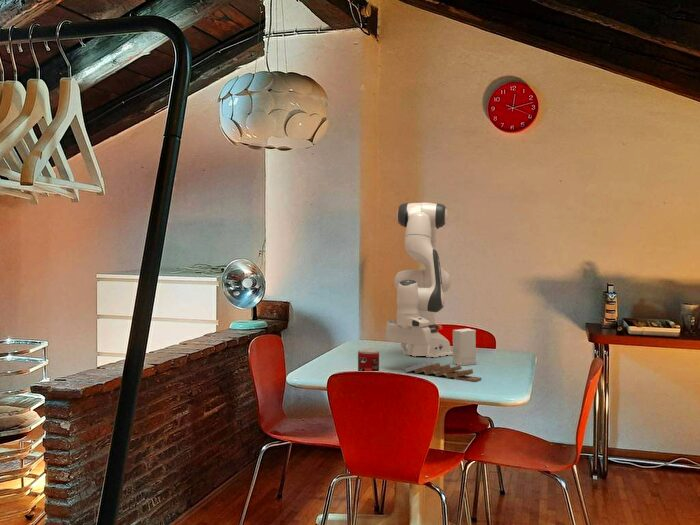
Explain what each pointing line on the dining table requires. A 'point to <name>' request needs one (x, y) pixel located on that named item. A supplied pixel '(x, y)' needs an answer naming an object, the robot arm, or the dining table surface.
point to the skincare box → (464, 346)
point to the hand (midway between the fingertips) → (407, 354)
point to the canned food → (368, 360)
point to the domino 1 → (417, 366)
